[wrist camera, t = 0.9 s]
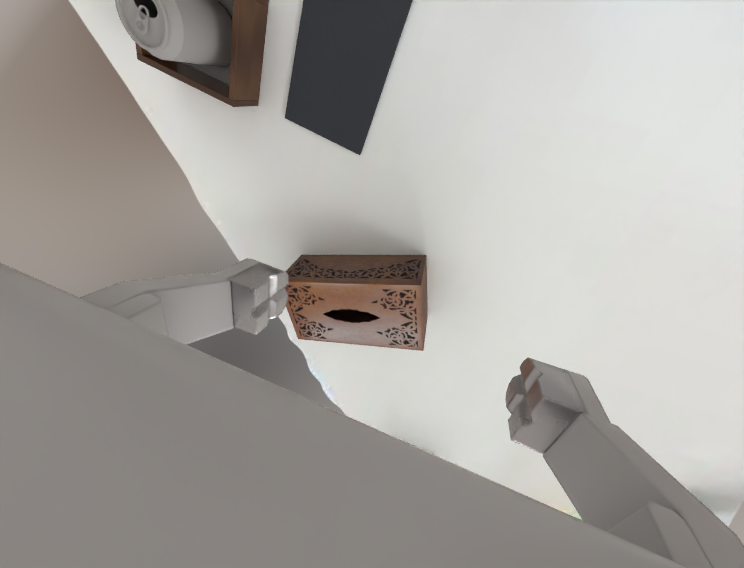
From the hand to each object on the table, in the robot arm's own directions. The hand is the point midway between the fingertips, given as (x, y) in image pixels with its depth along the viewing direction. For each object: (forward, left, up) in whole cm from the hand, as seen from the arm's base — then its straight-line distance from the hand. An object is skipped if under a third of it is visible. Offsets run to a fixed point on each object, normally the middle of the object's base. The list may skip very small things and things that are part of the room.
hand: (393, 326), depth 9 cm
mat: (-8, -16, -39) cm, 43 cm away
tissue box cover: (+28, -7, -39) cm, 49 cm away
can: (-8, -35, -39) cm, 53 cm away
